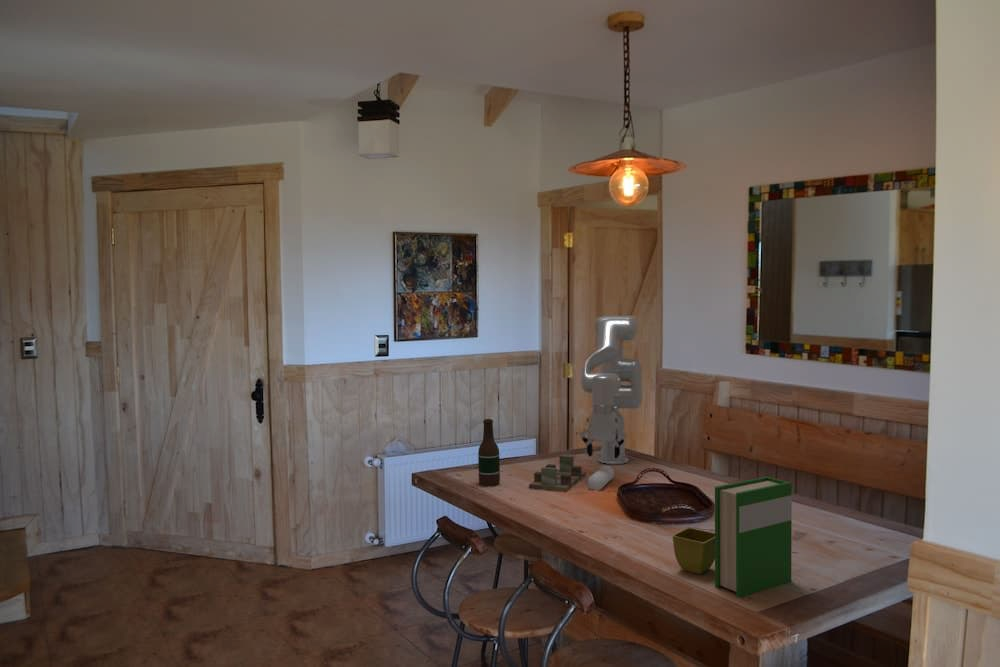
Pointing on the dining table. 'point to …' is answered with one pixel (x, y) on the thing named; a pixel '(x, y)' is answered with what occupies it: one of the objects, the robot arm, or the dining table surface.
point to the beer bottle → (488, 457)
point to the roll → (601, 477)
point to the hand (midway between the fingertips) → (603, 456)
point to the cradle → (558, 475)
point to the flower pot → (694, 549)
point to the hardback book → (753, 535)
